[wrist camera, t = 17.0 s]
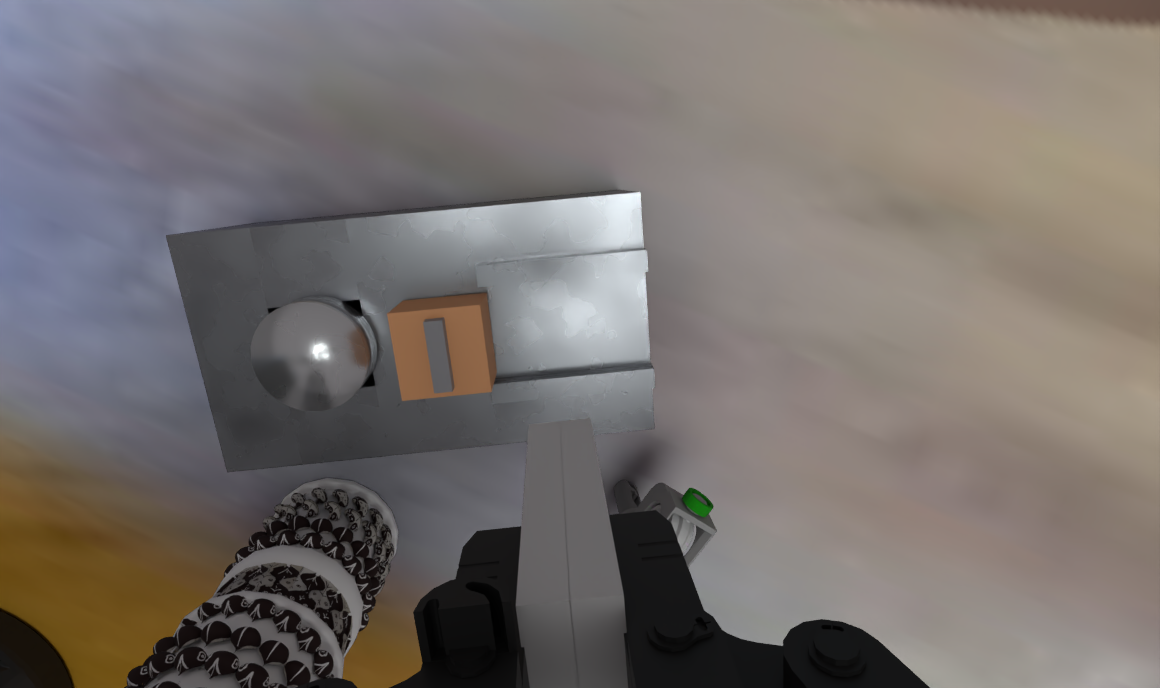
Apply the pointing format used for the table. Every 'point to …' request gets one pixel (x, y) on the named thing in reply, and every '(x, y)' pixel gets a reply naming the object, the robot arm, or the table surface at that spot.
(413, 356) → the block
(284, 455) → the hitch block
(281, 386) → the pin
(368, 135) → the table surface
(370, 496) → the decorative candle
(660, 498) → the mechanical component
